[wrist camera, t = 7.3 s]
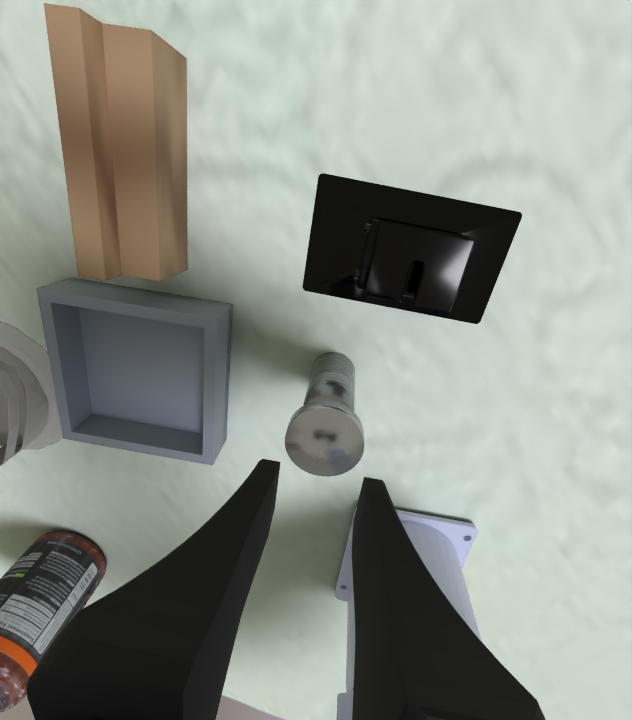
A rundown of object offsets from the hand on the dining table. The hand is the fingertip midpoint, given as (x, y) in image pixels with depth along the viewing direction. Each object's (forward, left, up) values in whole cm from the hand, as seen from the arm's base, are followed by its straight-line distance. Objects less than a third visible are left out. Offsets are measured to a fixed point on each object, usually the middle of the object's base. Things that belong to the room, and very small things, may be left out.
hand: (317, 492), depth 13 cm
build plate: (+7, -2, -10) cm, 13 cm away
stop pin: (0, 0, -9) cm, 9 cm away
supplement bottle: (-20, +18, -10) cm, 29 cm away
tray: (-1, +10, -9) cm, 14 cm away
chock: (+9, +10, -9) cm, 16 cm away
